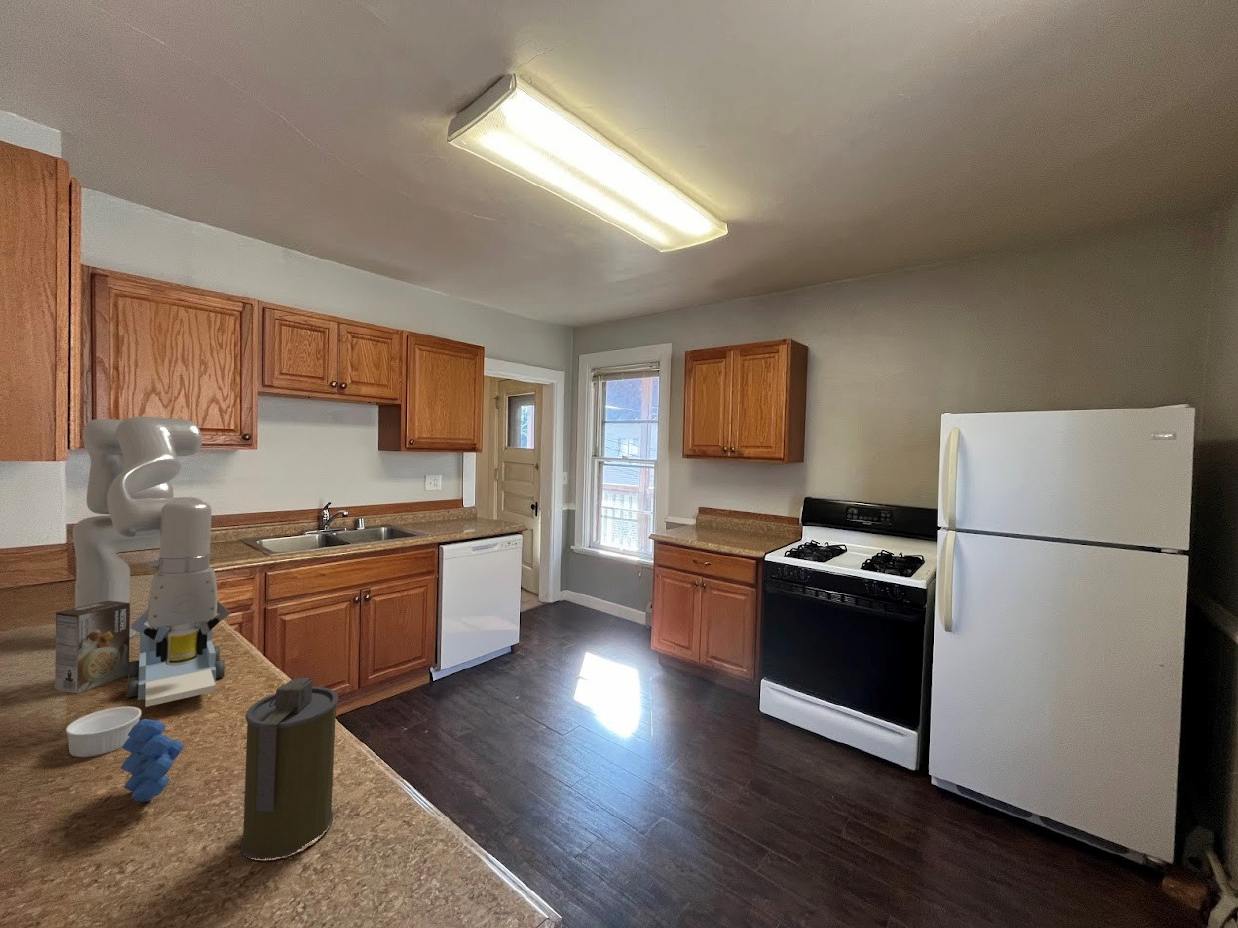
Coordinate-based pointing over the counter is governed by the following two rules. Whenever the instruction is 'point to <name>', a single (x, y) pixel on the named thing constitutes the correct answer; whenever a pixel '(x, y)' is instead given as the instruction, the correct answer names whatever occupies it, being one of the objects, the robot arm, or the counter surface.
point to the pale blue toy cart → (155, 669)
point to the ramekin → (101, 731)
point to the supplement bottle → (181, 644)
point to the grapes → (149, 759)
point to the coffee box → (92, 645)
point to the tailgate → (179, 687)
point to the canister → (288, 769)
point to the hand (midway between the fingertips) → (181, 655)
